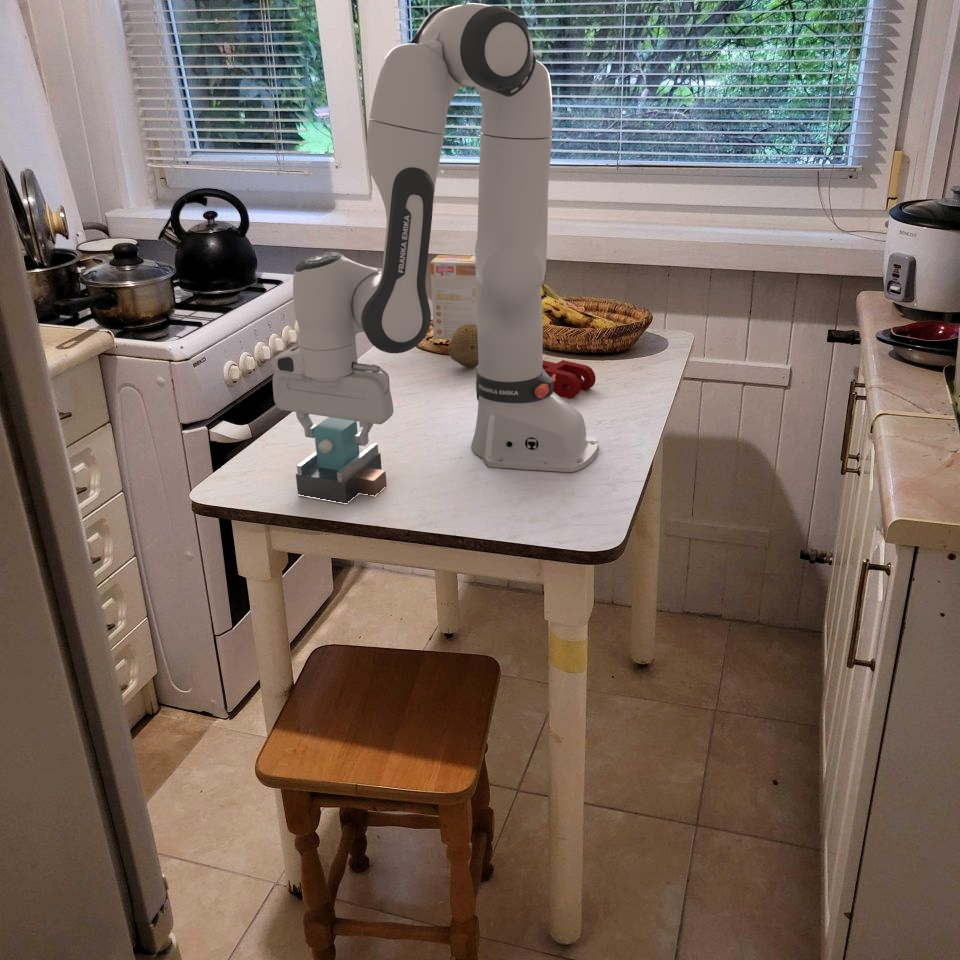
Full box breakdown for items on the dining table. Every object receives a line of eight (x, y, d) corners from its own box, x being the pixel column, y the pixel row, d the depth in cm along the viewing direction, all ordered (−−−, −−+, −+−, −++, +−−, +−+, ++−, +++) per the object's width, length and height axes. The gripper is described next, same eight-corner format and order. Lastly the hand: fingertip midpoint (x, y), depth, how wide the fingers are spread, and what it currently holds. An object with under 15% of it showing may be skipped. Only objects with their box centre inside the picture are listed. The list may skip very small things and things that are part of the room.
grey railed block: (397, 476, 164) (395, 446, 161) (363, 508, 154) (360, 476, 152) (335, 466, 168) (332, 436, 166) (298, 496, 158) (294, 465, 156)
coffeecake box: (502, 338, 229) (501, 255, 220) (496, 348, 223) (494, 263, 214) (441, 335, 232) (438, 253, 224) (433, 344, 226) (429, 261, 218)
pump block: (359, 459, 161) (356, 420, 158) (340, 475, 156) (336, 435, 153) (333, 454, 163) (329, 416, 160) (313, 470, 157) (308, 431, 154)
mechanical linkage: (595, 390, 198) (595, 367, 196) (575, 401, 193) (576, 377, 191) (531, 375, 207) (531, 352, 205) (511, 385, 202) (511, 362, 200)
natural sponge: (496, 373, 208) (495, 328, 203) (455, 377, 206) (453, 332, 202) (486, 360, 216) (484, 316, 211) (446, 364, 214) (444, 320, 209)
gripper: (397, 359, 151) (402, 441, 157) (285, 346, 158) (294, 425, 164) (377, 373, 146) (384, 457, 152) (262, 358, 153) (273, 439, 159)
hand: (336, 440), depth 158 cm, fingers open, 8 cm apart
